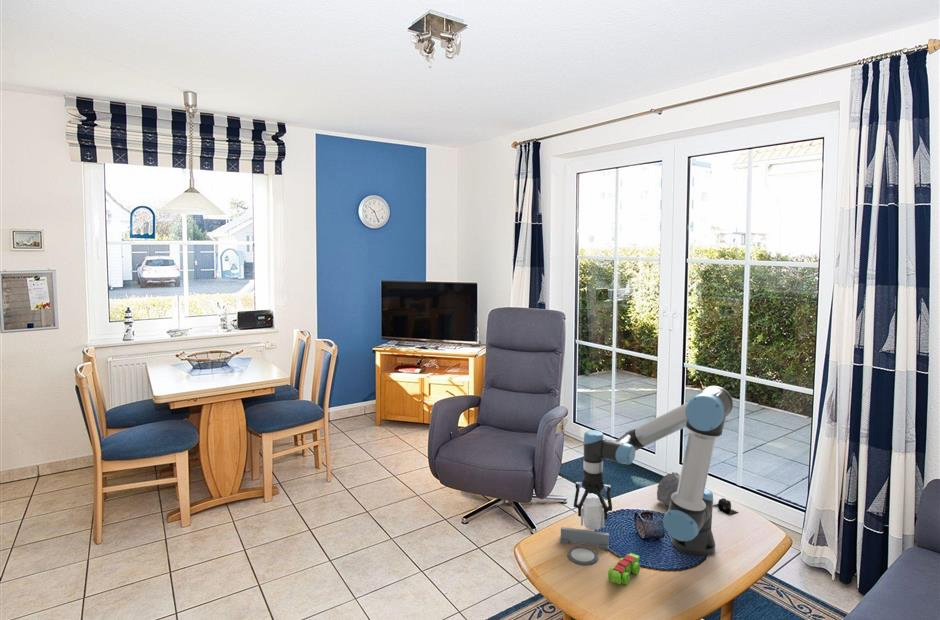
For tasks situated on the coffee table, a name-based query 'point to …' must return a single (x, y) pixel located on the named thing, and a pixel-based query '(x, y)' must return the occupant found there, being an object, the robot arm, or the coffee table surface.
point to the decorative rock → (667, 487)
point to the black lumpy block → (725, 507)
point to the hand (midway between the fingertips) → (592, 525)
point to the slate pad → (582, 555)
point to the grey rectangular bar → (584, 537)
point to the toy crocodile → (624, 569)
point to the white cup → (592, 513)
